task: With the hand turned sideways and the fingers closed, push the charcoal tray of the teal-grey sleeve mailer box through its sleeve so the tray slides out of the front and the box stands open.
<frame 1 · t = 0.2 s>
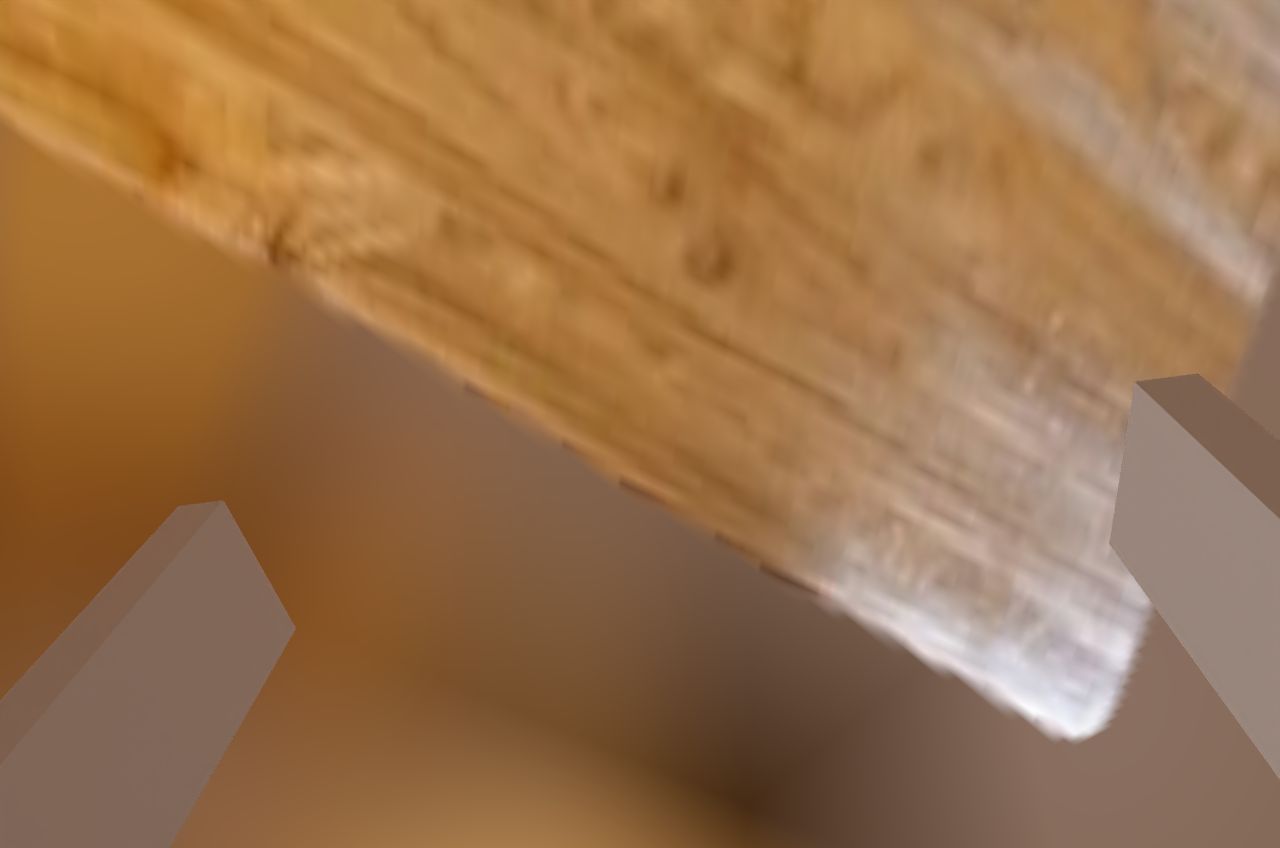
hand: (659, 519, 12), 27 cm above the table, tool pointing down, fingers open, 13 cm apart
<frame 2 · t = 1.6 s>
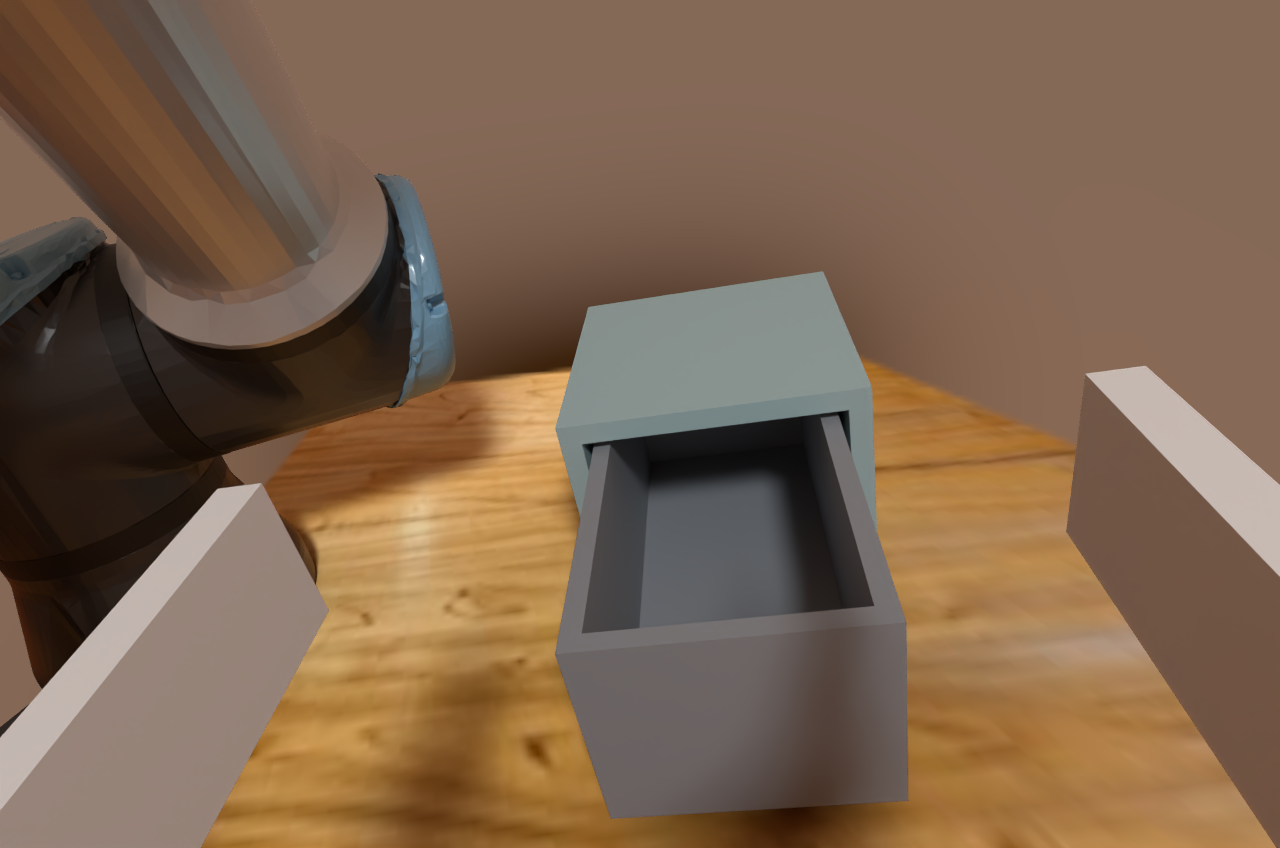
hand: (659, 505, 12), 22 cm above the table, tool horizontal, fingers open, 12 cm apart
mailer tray: (726, 517, 37), point 6 cm above the table, slide at 0.0 cm
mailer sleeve: (733, 521, 46), on the table
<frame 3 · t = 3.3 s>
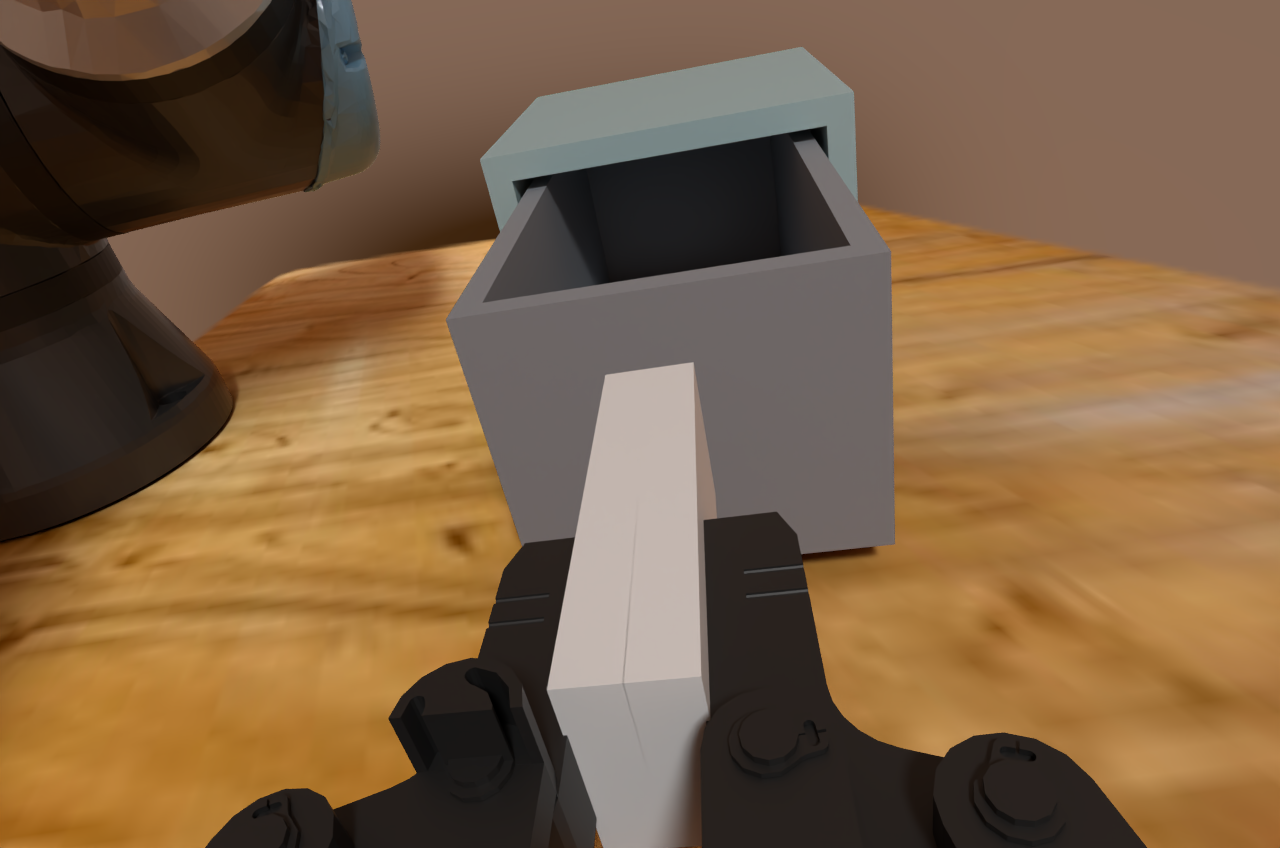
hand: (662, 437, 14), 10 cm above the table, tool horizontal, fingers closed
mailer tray: (685, 280, 32), point 6 cm above the table, slide at 0.0 cm
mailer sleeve: (701, 336, 41), on the table
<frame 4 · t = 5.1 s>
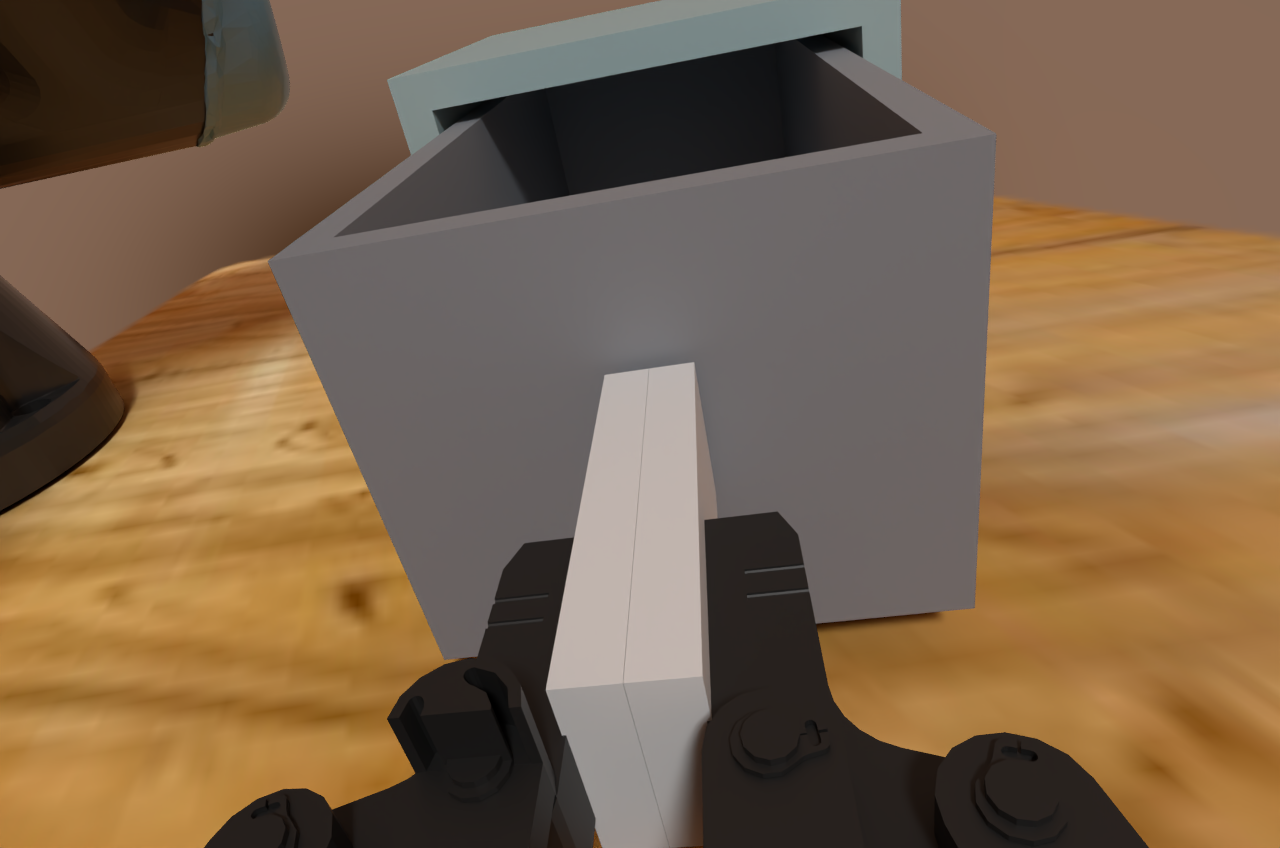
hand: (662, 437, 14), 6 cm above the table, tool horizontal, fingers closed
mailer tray: (669, 243, 24), point 6 cm above the table, slide at 0.5 cm, touching gripper
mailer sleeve: (694, 328, 33), on the table
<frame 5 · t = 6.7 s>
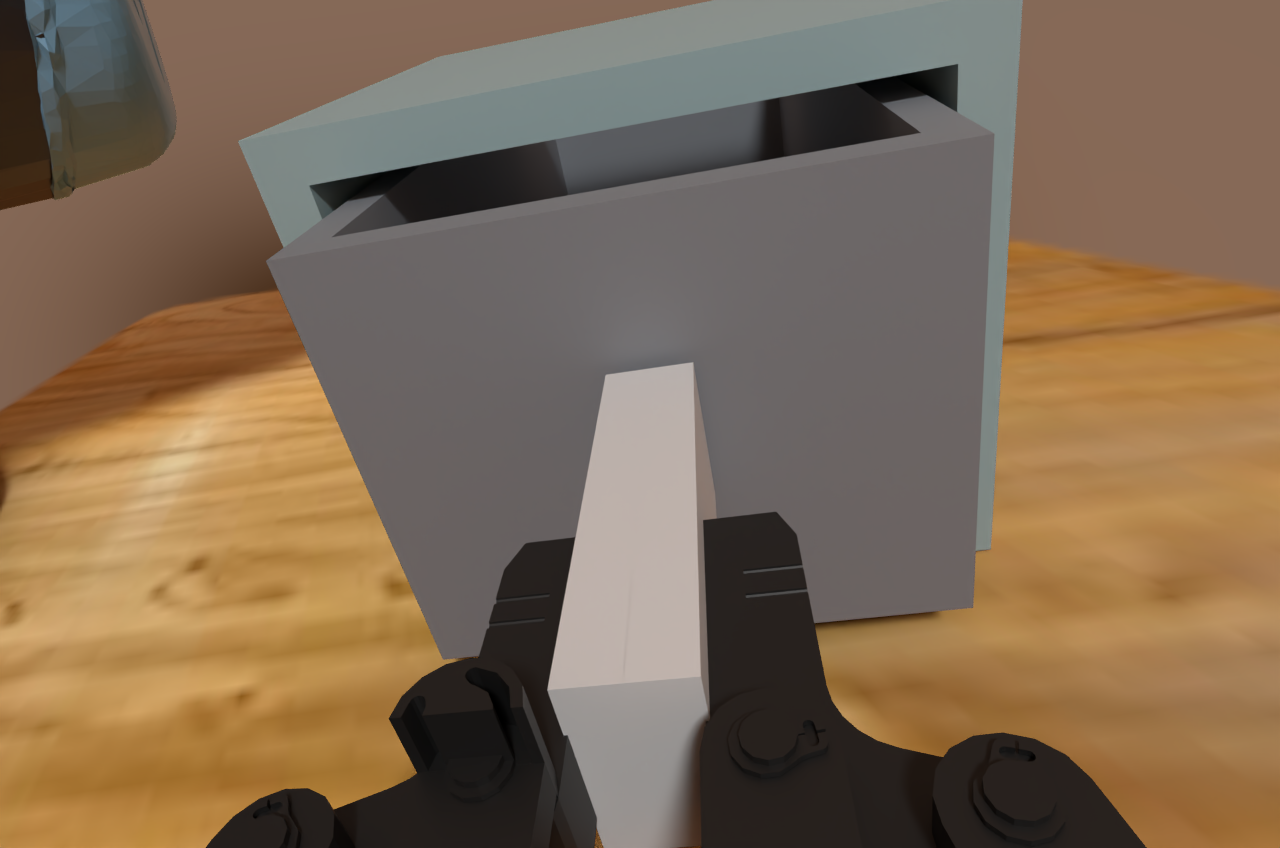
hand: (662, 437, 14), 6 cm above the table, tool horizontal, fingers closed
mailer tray: (668, 242, 24), point 6 cm above the table, slide at 8.9 cm, touching gripper
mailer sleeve: (696, 433, 26), on the table
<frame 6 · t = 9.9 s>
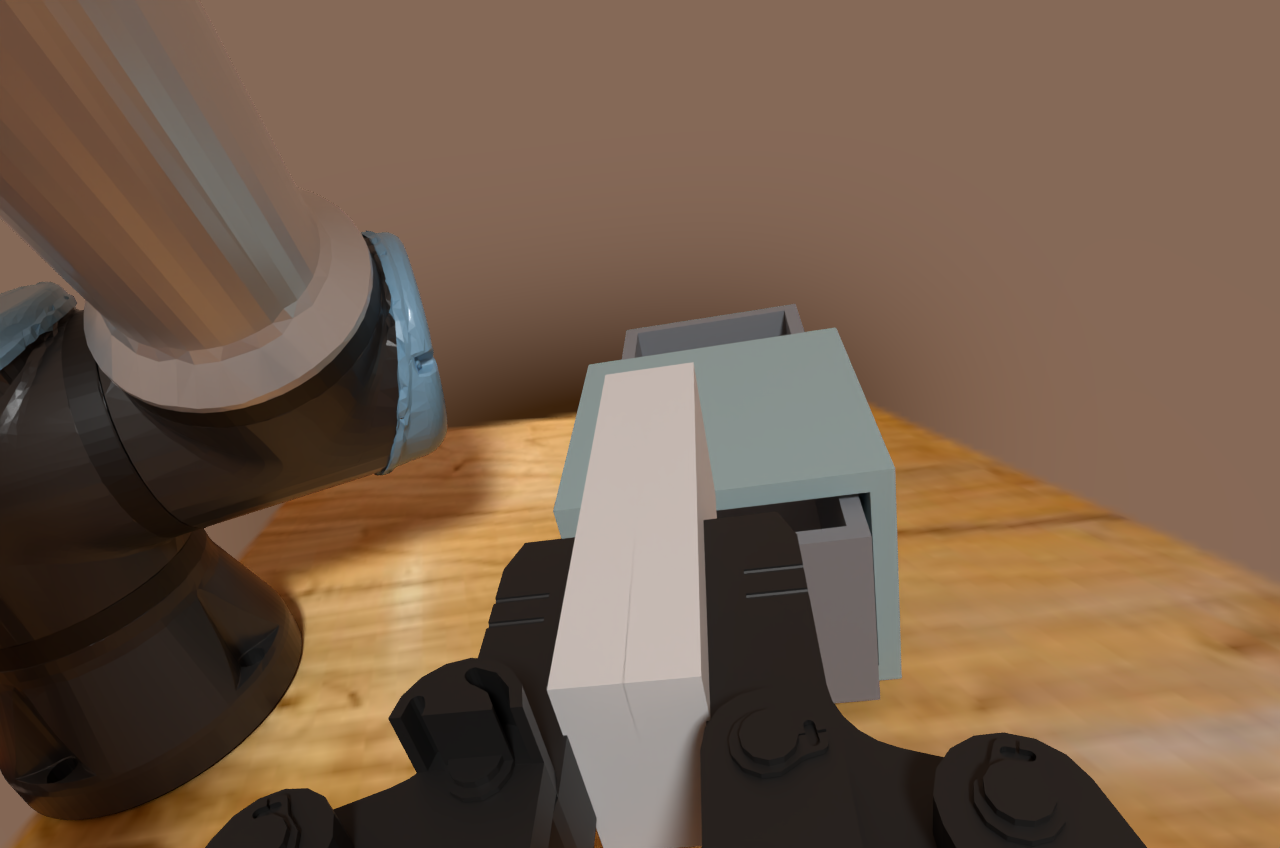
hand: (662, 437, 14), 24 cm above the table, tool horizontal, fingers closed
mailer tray: (727, 476, 43), point 6 cm above the table, slide at 9.8 cm
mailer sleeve: (743, 591, 44), on the table
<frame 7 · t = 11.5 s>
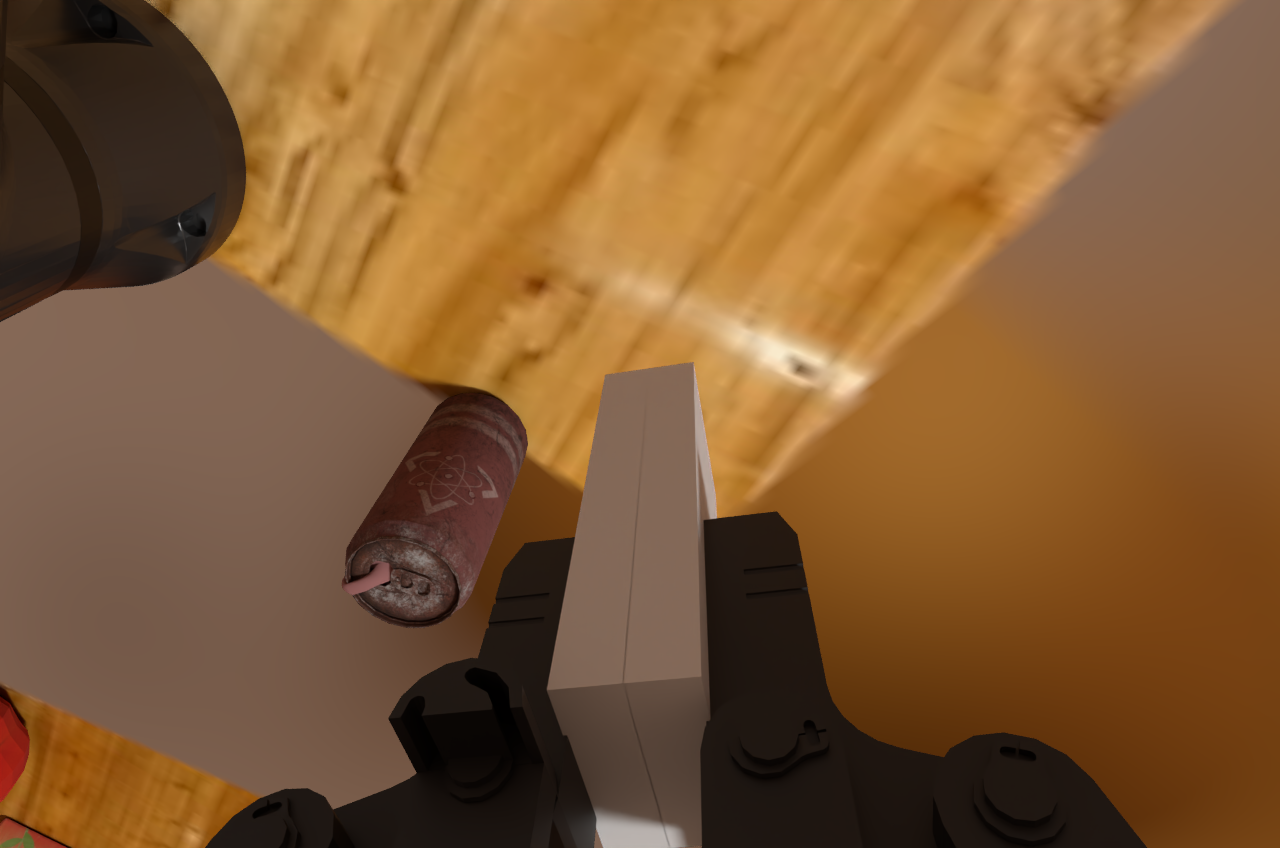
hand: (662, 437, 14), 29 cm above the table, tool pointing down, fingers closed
can: (479, 431, 48), on the table
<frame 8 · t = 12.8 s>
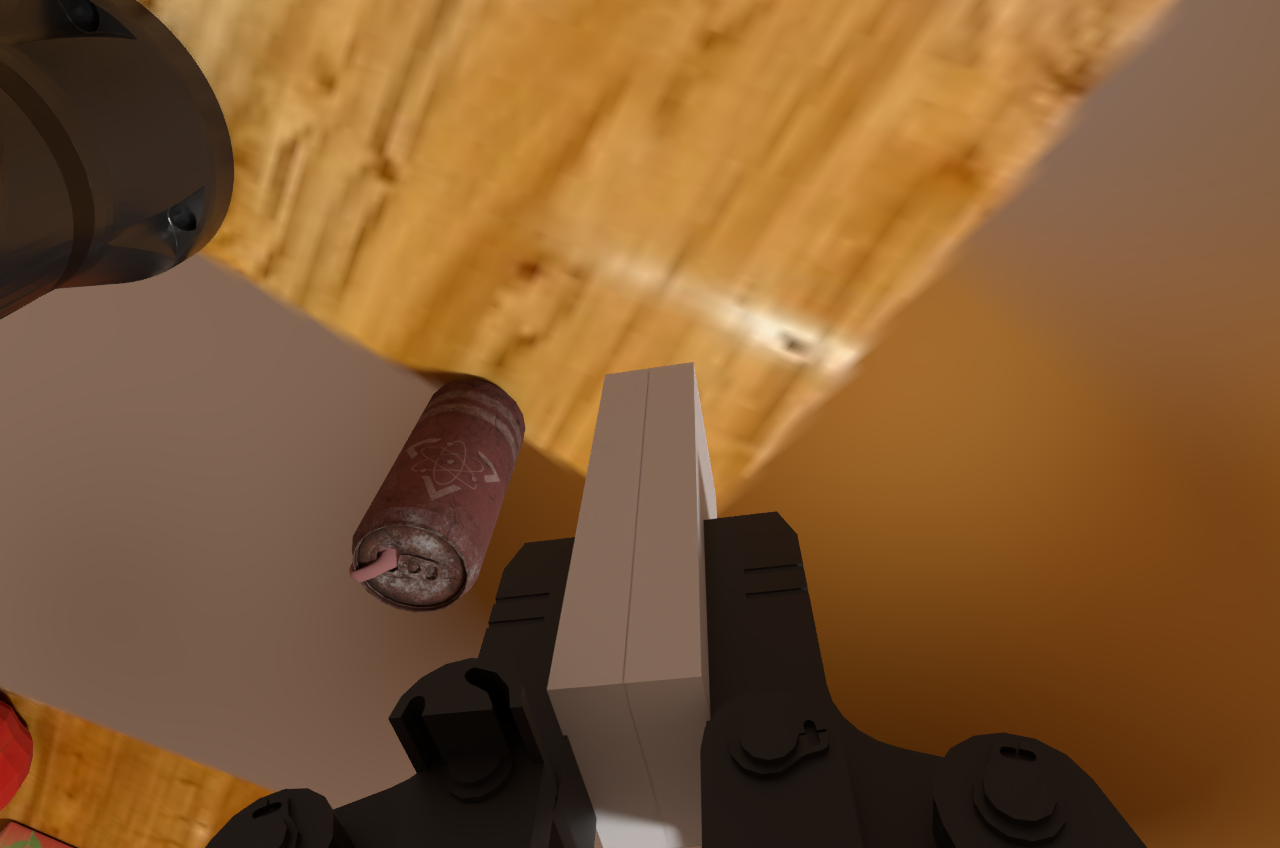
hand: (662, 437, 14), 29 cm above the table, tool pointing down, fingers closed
can: (476, 417, 48), on the table
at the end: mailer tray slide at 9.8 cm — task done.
